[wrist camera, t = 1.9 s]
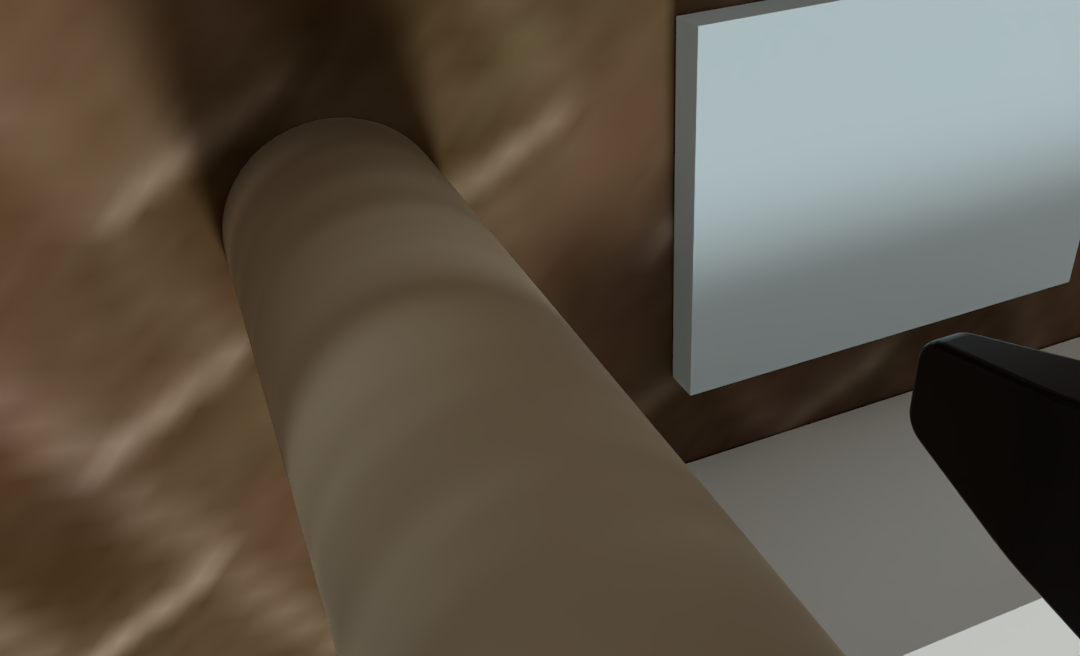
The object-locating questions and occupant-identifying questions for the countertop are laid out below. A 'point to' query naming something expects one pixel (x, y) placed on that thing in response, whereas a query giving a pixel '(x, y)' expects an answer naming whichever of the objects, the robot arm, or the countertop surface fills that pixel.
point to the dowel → (468, 432)
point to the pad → (865, 172)
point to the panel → (882, 539)
